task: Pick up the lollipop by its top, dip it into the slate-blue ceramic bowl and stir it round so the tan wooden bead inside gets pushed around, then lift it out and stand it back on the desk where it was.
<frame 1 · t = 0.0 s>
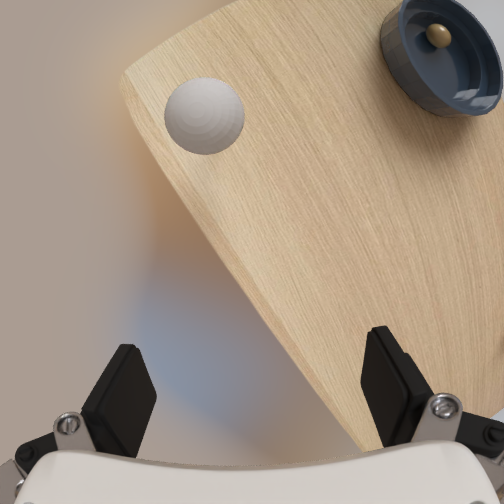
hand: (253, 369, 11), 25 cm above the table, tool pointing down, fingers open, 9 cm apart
bead: (438, 35, 24), point 2 cm above the table, touching bowl
lollipop: (222, 129, 32), on the table
bowl: (434, 59, 27), on the table
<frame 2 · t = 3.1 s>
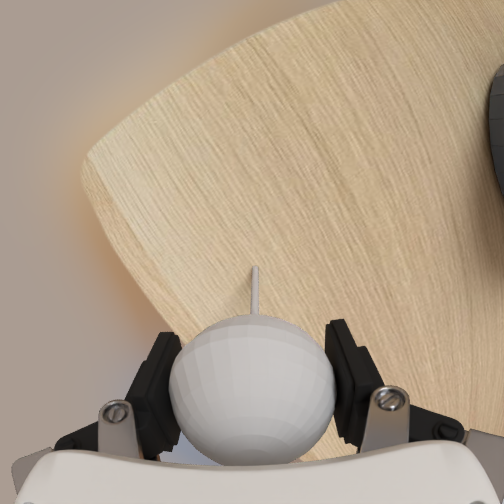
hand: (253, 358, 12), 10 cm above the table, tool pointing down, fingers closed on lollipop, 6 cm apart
lollipop: (255, 267, 21), on the table, touching gripper
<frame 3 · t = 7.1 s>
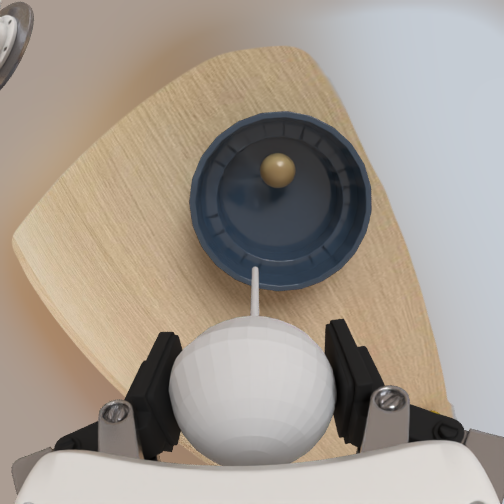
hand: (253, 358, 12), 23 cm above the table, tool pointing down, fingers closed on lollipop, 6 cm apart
bead: (277, 170, 29), point 2 cm above the table, touching bowl
lollipop: (255, 268, 21), point 13 cm above the table, touching gripper
bowl: (278, 196, 32), on the table
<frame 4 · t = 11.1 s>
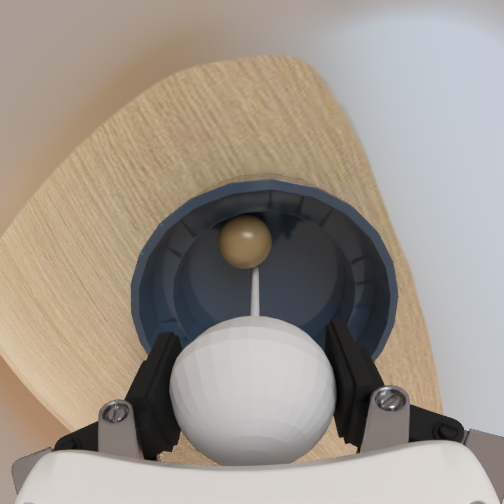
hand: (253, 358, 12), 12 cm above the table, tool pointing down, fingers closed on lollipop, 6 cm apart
bead: (244, 241, 20), point 2 cm above the table, tilted 52°, touching bowl
lollipop: (255, 268, 21), point 2 cm above the table, touching gripper
bowl: (264, 284, 23), on the table
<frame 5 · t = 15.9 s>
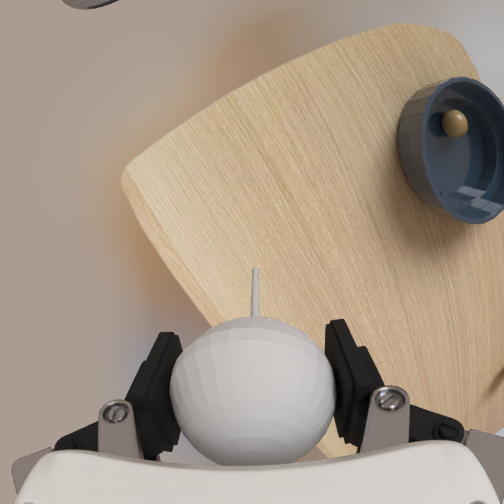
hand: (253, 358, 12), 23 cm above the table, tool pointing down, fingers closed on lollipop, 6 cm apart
bead: (454, 123, 26), point 2 cm above the table, tilted 23°, touching bowl
lollipop: (255, 269, 21), point 13 cm above the table, touching gripper
bowl: (450, 148, 30), on the table
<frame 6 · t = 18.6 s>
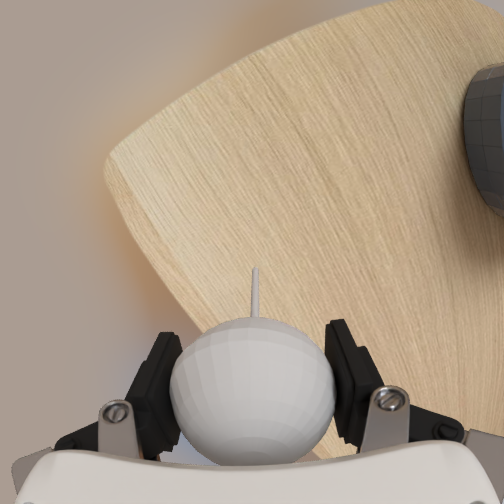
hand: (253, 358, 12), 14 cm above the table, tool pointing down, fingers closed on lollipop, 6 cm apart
lollipop: (255, 269, 21), point 4 cm above the table, touching gripper
when the fingers open (10 cm above the table, at t = 20.1 s): lollipop stays where it is, on the table.
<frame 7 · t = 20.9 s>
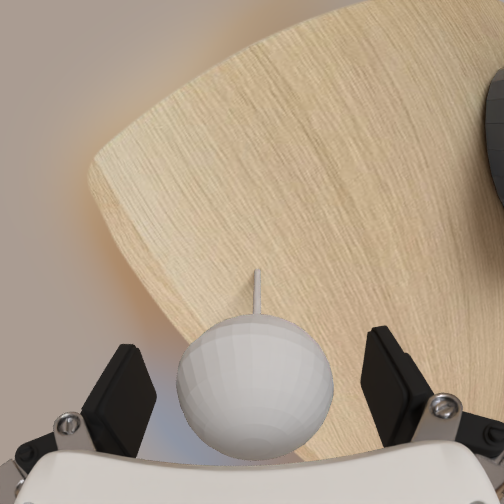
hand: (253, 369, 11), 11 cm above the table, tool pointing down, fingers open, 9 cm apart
lollipop: (257, 270, 22), on the table
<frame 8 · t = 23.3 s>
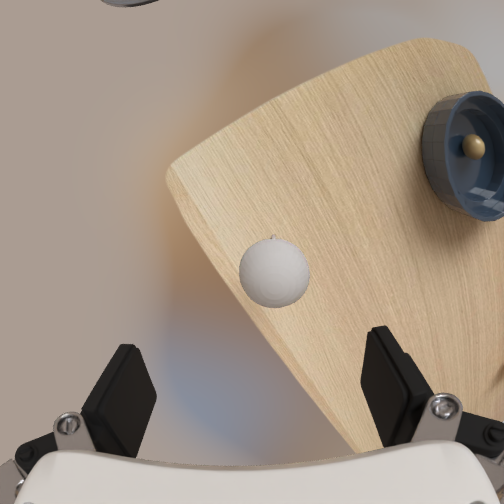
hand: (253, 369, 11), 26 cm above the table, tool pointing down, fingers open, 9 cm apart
bead: (473, 146, 29), point 2 cm above the table, tilted 57°, touching bowl
lollipop: (273, 235, 37), on the table
bowl: (465, 153, 32), on the table
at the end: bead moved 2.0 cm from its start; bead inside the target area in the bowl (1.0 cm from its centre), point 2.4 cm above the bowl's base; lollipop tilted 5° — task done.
